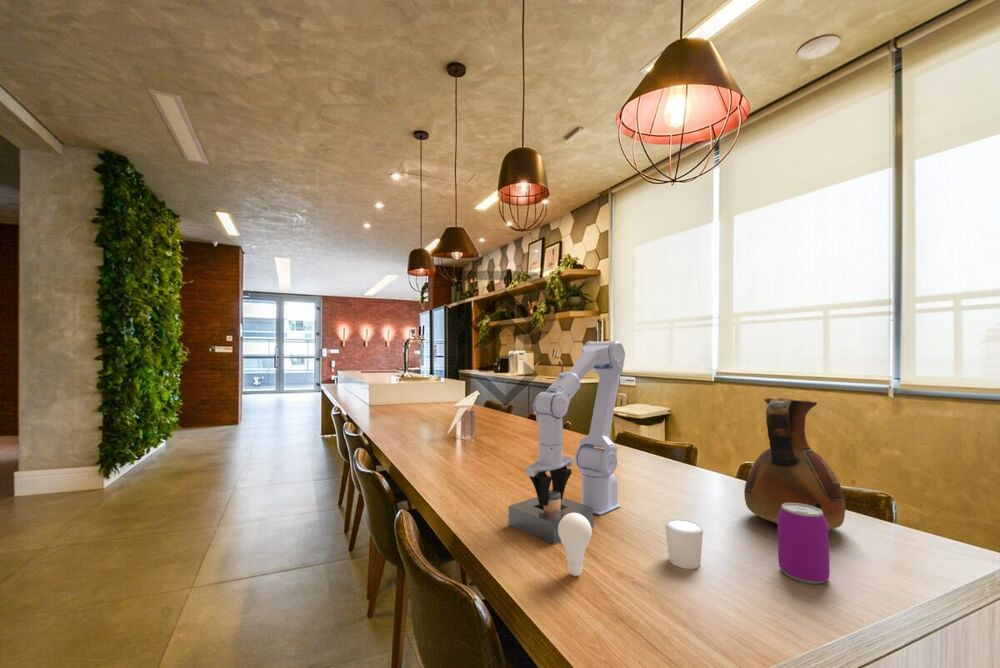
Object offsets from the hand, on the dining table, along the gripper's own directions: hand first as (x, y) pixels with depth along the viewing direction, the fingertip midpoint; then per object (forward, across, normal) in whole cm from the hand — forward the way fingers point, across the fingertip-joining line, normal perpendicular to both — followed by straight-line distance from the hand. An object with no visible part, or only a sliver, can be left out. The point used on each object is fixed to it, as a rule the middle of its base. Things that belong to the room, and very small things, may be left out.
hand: (550, 501), depth 103 cm
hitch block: (+6, 0, 0) cm, 6 cm away
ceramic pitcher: (+6, -43, +38) cm, 58 cm away
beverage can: (+6, -17, +46) cm, 49 cm away
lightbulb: (+6, +14, +18) cm, 24 cm away
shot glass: (+6, -6, +29) cm, 30 cm away
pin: (+6, 0, 0) cm, 6 cm away
